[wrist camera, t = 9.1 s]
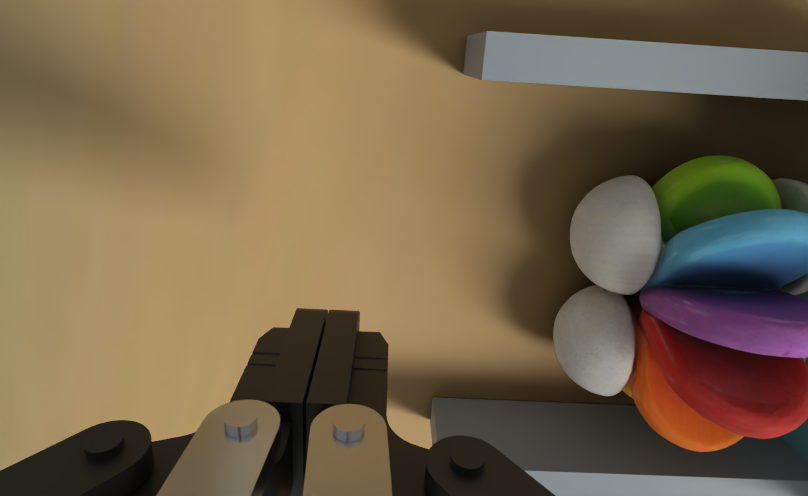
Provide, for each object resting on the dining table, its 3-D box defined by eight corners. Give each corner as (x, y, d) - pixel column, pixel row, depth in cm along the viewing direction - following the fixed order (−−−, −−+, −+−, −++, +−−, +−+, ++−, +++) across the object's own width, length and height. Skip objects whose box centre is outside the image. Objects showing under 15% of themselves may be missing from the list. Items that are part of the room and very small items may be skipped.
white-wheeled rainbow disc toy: (535, 371, 22) (597, 514, 15) (573, 138, 19) (675, 187, 12) (732, 378, 22) (882, 522, 15) (805, 150, 19) (1038, 204, 12)
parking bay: (467, 35, 17) (552, 14, 8) (912, 65, 18) (1494, 79, 8) (430, 420, 22) (454, 682, 13) (773, 434, 23) (1032, 695, 14)
